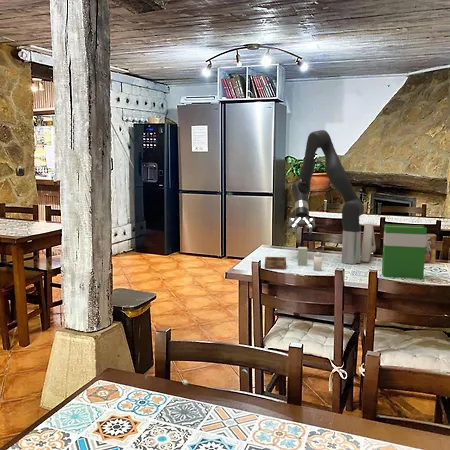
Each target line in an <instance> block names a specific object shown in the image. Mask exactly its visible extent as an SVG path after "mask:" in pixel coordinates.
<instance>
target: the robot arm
mask: <svg viewBox="0 0 450 450" xmlns="http://www.w3.org/2000/svg"><path fill="white" fill-rule="evenodd" d="M319 149H321V150H322V151H321V152H322V153H323V155H324V158H325V173H326V175H327V177H328V179H329V181H330V183H331V185H332V186H333V187H334V189H335V190H337V192H338V193H339V194H340V195H341V197H342V199H343V202H344V204H343V206H342V209H341V225H342V247H341V262H342V263H344V264H346V263H349V264H348V265H357V264H356V263H360V264H361V262H360V259H361V250H362V245H361V239H362V238H361V237H362V225H361V224H360V217H361V216H362V215H363V213H364V211H365V209H364V207H365V206H364V204H363V203H362V200H361V199H360V197H359V196H358V194H357V193H356V191H355V190H354V187H353V185H352V183H351V181H350V178H349V176H348V174H347V172H346V169H345V168H344V166H343V164H342V162H341V161H340V158H339V156H338V154H337V152H336V149H335V147H334V143H333V142H332V138H331V136H330V134H329V133H328V131H327V130H324V129H320V130H315V131H312V132H310V133H309V134H308V136H307V140H306V145H305V152H304V159H303V162H302V166H301V168H300V171H299V173H298V174H299V175H298V178H299V180H301V181H299V180H298V181H294V182H293V183H292V185H291V192H292V194H293V197H294V217H293V218H292V217H291V216H290V217H289V218H288V229H291V233H292V235H296V234H295V233H296V230H295V228H297V227H300V226H302V227H306V228H307V229H308V235H309V236H311V235H312V234H313V230H314V229H316V220H315V217H311V218H309V217H310V216H309V203H308V201H309V200H308V196H307V195H308V194H309V193H310V192H311V180H312V176H313V173H315V172H314V171H315V154H316V153H317V150H319ZM293 221H294V223H293ZM292 223H293V224H292Z"/></svg>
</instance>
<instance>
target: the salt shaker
mask: <svg viewBox="0 0 450 450" xmlns="http://www.w3.org/2000/svg"><path fill="white" fill-rule="evenodd" d="M322 268H323V255H322V253H321V252H320V251H316V252H315V253H314V254H313V270H314V271H317V272H320V271H322Z"/></svg>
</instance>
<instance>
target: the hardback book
mask: <svg viewBox="0 0 450 450" xmlns="http://www.w3.org/2000/svg"><path fill="white" fill-rule="evenodd" d="M383 227H384V228H383V229H384V230H383V245H382V258H381V259H382V261H381V274H382V277H384V278H398V279H399V278H400V279H415V280H418V279H419V280H424V274H425V273H424V272H425V263H424V262H425V248H426V234H428V233H427V231H428V228H427V227H425V225H414V224H413V225H412V224H388V223H387V224H384V226H383Z"/></svg>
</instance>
